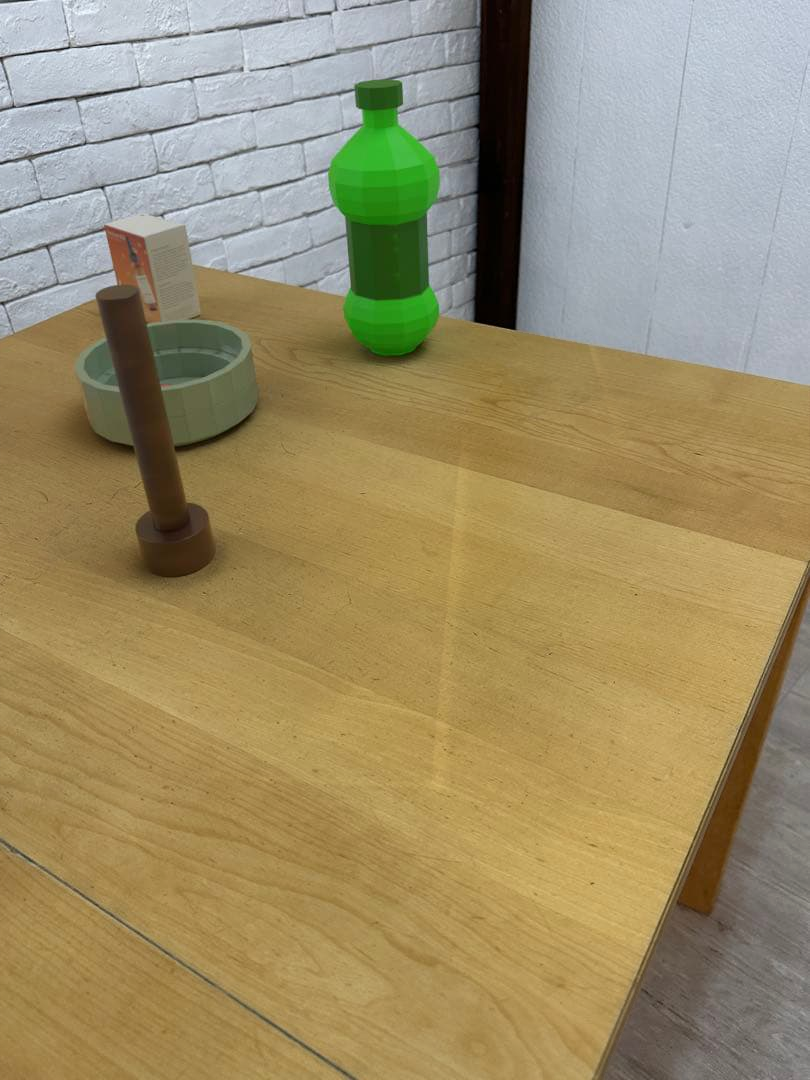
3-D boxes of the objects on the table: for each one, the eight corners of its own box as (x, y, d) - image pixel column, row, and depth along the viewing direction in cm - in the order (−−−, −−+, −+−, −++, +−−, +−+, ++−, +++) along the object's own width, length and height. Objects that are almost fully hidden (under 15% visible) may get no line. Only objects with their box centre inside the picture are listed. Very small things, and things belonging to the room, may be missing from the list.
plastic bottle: (347, 328, 100) (325, 76, 85) (443, 325, 99) (437, 71, 85) (339, 367, 92) (312, 96, 77) (443, 364, 91) (436, 91, 76)
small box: (123, 314, 106) (101, 223, 100) (163, 300, 109) (144, 211, 103) (162, 330, 102) (142, 236, 95) (203, 315, 105) (186, 223, 99)
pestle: (133, 575, 65) (58, 308, 53) (157, 533, 69) (93, 276, 57) (203, 578, 64) (143, 308, 53) (223, 535, 68) (171, 276, 57)
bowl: (64, 453, 80) (46, 392, 76) (125, 375, 92) (111, 319, 89) (237, 455, 78) (226, 392, 75) (275, 375, 91) (267, 318, 87)
